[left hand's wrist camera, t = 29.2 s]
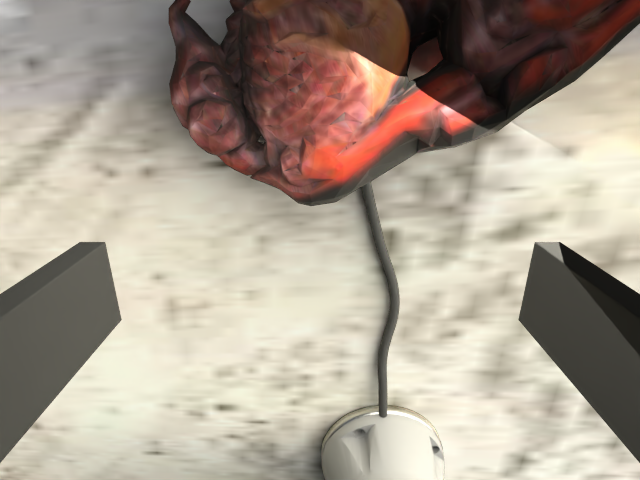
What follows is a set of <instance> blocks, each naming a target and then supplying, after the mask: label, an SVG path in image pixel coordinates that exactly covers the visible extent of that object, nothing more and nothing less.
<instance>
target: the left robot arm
mask: <svg viewBox="0 0 640 480" xmlns="http://www.w3.org/2000/svg"><path fill="white" fill-rule="evenodd" d="M362 192H363V196H364V201H365V205H366V209H367V213H368V217H369V221H370V225H371V229H372V233H373V237H374V241H375V245H376V248H377V251H378V254H379V257H380V260H381V263H382V265H383V268H384V271H385V274H386V277H387V281H388V285H389V292H390V311H389V317H388V321H387V324H386V328H385V331H384V334H383V337H382V341H381V344H380V349H379V356H378V383H379V406H370V407H365V408H362V409H359V410H356V411H353V412H351V413H349V414H347V415H345V416H344V417H342V418H341V419H339V420H338V421H337V422H336V423H335V424H334V425H333V426H332V427H331V428H330V429H329V431H328V432H327V434H326V435H325V438H324V440H323V443H322V448H321V463H322V470H323V475H324V478H325V480H444V454H443V448H442V445H441V442H440V439H439V436H438V433H437V431H436V429H435V428H434V426H433V425H432V424H431V423H430V422H429V421H428V420H427V419H426V418H424V417H423V416H421V415H420V414H418V413H416V412H414V411H412V410H409V409H406V408H403V407H398V406H390V405H387V370H386V369H387V355H388V350H389V346H390V342H391V339H392V336H393V333H394V330H395V327H396V323H397V319H398V314H399V289H398V283H397V279H396V275H395V272H394V269H393V266H392V263H391V260H390V257H389V255H388V252H387V248H386V245H385V242H384V238H383V234H382V229H381V225H380V221H379V217H378V213H377V209H376V204H375V200H374V195H373V191H372V186H371V181H370V182H369V183H367V184H365V185H364V186H362ZM120 321H121V316H120V311H119V306H118V301H117V297H116V292H115V287H114V282H113V278H112V273H111V268H110V263H109V259H108V254H107V249H106V244H105V242H80V243H78V244H76V245H75V246H73V247H72V248H70V249H69V250H67V251H66V252H64V253H63V254H61V255H60V256H58V257H57V258H55V259H53V260H52V261H50V262H49V263H47V264H46V265H44V266H43V267H41V268H40V269H38V270H37V271H35V272H34V273H32V274H31V275H29V276H27V277H26V278H24V279H23V280H21V281H20V282H18V283H17V284H15V285H14V286H12V287H11V288H9V289H8V290H6V291H5V292H3V293H1V294H0V462H1V461H2V460H3V459H4V458H5V457H6V455H7V454H8V453H9V452H10V451H11V450H12V448H13V447H14V446H15V445H16V444H17V442H18V441H19V440H20V439H21V438H22V437H23V435H24V434H25V433H26V432H27V431H28V429H29V428H30V427H31V426H32V425H33V424H34V422H35V421H36V420H37V419H38V418H39V416H40V415H41V414H42V413H43V412H44V411H45V409H46V408H47V407H48V406H49V405H50V403H51V402H52V401H53V400H54V399H55V398H56V396H57V395H58V394H59V393H60V392H61V390H62V389H63V388H64V387H65V386H66V385H67V383H68V382H69V381H70V380H71V379H72V378H73V376H74V375H75V374H76V373H77V372H78V370H79V369H80V368H81V367H82V366H83V365H84V363H85V362H86V361H87V360H88V359H89V357H90V356H91V355H92V354H93V353H94V352H95V350H96V349H97V348H98V347H99V346H100V344H101V343H102V342H103V341H104V340H105V339H106V337H107V336H108V335H109V334H110V333H111V331H112V330H113V329H114V328H115V327H116V326H117V324H118V323H119V322H120ZM519 321H520V322H521V323H522V324H523V326H524V327H525V328H526V329H527V330H528V331H529V333H530V334H531V335H532V336H533V337H534V339H535V340H536V341H537V342H538V343H539V344H540V346H541V347H542V348H543V349H544V350H545V352H546V353H547V354H548V355H549V356H550V357H551V359H552V360H553V361H554V362H555V363H556V365H557V366H558V367H559V368H560V369H561V370H562V372H563V373H564V374H565V375H566V376H567V378H568V379H569V380H570V381H571V382H572V383H573V385H574V386H575V387H576V388H577V389H578V390H579V392H580V393H581V394H582V395H583V396H584V398H585V399H586V400H587V401H588V402H589V403H590V405H591V406H592V407H593V408H594V409H595V411H596V412H597V413H598V414H599V415H600V416H601V418H602V419H603V420H604V421H605V422H606V424H607V425H608V426H609V427H610V428H611V429H612V431H613V432H614V433H615V434H616V435H617V437H618V438H619V439H620V440H621V441H622V442H623V444H624V445H625V446H626V447H627V448H628V450H629V451H630V452H631V453H632V454H633V455H634V457H635V458H636V459H637V460H638V461H639V462H640V294H639V293H637V292H635V291H634V290H632V289H631V288H629V287H628V286H626V285H625V284H623V283H622V282H620V281H619V280H617V279H616V278H614V277H613V276H611V275H609V274H608V273H606V272H605V271H603V270H602V269H600V268H599V267H597V266H596V265H594V264H593V263H591V262H590V261H588V260H587V259H585V258H583V257H582V256H580V255H579V254H577V253H576V252H574V251H573V250H571V249H570V248H568V247H567V246H565V245H564V244H562V243H560V242H535V244H534V249H533V254H532V259H531V263H530V268H529V273H528V278H527V282H526V287H525V292H524V297H523V301H522V306H521V311H520V316H519Z"/></svg>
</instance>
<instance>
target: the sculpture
mask: <svg viewBox="0 0 640 480" xmlns="http://www.w3.org/2000/svg"><path fill="white" fill-rule="evenodd" d="M190 2H191V1H190V0H175V1H174V3H173V4H172V5H171V6H170V7H169V26H170V29H171V33H172V36H173V39H174V43H175V46H176V61H175V65H174V68H173V72H172V76H171V79H170V83H169V86H170V94H171V101H172V105H173V108H174V111H175V113H176V114H177V116H178V118H179V120H180V122H181V124H182V126H183V127H185V128H186V129H188V130H189V133H190V136H191V137H192V139H193V140H194V141H195V142H196V144H197V145H198V146H199V147H201V148H202V149H203V150H205V151H206V152H207V153H210V154H214V155H217V156H218V157H219V158H220V159H221V160H222V161H223V162H224V163H225V164H226V165H228V166H229V167H231V168H233V169H234V170H236V171H238V172H240V173H243V174H245V175H252V176H251V178H252V179H255V180H258V181H261V182H264V183H267V184H269V185H271V186H274V187H276V188H278V189H280V190H282V191H283V192H284V193H286V194H287V195H288V196H290V197H291V198H292V199H293V200H295V201H296V202H297V203H300V204H304V205H309V206H314V205H321V204H327V203H333V202H337V201H338V200H340V199H342V198H343V197H345V196H347V195H348V194H350V193H352V192H353V191H355V190H357V189H359V188H360V187H362V186H364V185H365V184H367V183H369V182H370V181H372V180H374V179H375V178H377V177H379V176H380V175H382V174H384V173H385V172H387V171H388V170H390V169H392V168H393V167H395V166H397V165H398V164H400V163H401V162H403V161H405V160H406V159H408V158H410V157H411V156H413V155H414V154H416V153H420V152H427V151H433V150H440V149H446V148H452V147H457V146H460V145H462V144H465V143H468V142H471V141H473V140H476V139H479V138H482V137H484V136H487V135H490V134H493V133H496V132H498V131H499V130H500V129H502V128H503V127H504V126H506V125H507V124H508V123H510V122H511V121H512V120H514V119H515V118H516V117H518V116H519V115H520V114H522V113H523V112H524V111H526V110H527V109H529V108H531V107H532V106H534V105H536V104H537V103H539V102H541V101H542V100H544V99H546V98H547V97H549V96H551V95H552V94H554V93H556V92H557V91H559V90H561V89H562V88H564V87H566V86H567V85H569V84H571V83H572V82H574V81H575V80H577V79H578V78H579V77H580V76H581V75H582V74H584V73H585V72H586V71H587V70H588V69H589V68H591V67H592V66H593V65H594V64H595V63H596V62H598V61H599V60H600V59H601V58H602V57H603V56H605V55H606V54H607V53H608V52H609V51H610V50H611V49H612V48H613V47H614V46H615V45H616V44H618V43H619V42H620V41H621V40H622V39H623V38H624V37H625V36H626V35H627V34H628V33H630V32H631V31H632V30H633V29H634V28H635V27H636V26H637V25H638V24H639V23H640V0H230V4H231V6H232V8H233V10H234V13H233V14H232V15H231V16H229V17H228V18H227V19H226V25H227V29H228V32H227V34H226V36H225V38H224V40H223V42H222V43H221V45H219V44H217V43H216V42H215V41H214V40H212V39H211V38H210V37H209V36H208V34H207V33H206V32H205V31H204V30H203V29H202V28H201V27H200V26H199V25H198V23H197V22H196V21H194V20H193V19H192V18H191V17H190V16H189V15H188V14H187V13H186V12H185V11H186V9H187V8H188V6H189V4H190ZM435 37H438V42H439V47H440V51H441V53H442V56H443V58H444V59H443V60H442V61H441V62H440V63H439V64H438V65H436V66H435V67H434V68H433V69H432V70H431V71H430V72H428V73H427V74H425V75H423V76H420V77H418V78H416V79H414V80H411V81H409V79H408V75H407V71H408V67H409V64H410V60H411V57H412V54H413V52H414V51H415V49H416V47H417V46H419V45H421V44H423V43H425V42H427V41H429V40H431V39H433V38H435ZM260 136H263V138H264V140H265V143H264V144H262V143H259V142H257V141H258V139H259V137H260Z"/></svg>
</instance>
